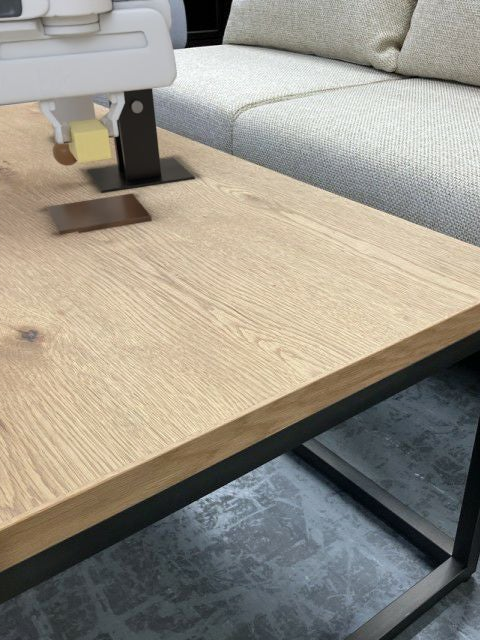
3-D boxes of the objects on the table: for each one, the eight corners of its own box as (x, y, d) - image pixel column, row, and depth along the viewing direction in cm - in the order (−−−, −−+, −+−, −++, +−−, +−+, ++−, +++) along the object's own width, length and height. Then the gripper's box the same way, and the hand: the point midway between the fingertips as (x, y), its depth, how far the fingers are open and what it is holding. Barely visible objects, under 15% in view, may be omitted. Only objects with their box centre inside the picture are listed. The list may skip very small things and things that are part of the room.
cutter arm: (67, 174, 85) (49, 152, 83) (62, 166, 88) (44, 146, 86) (151, 108, 86) (135, 86, 83) (144, 103, 88) (128, 81, 86)
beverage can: (49, 144, 106) (32, 58, 99) (87, 136, 110) (74, 53, 103) (67, 153, 102) (52, 65, 95) (107, 145, 105) (94, 59, 99)
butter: (78, 163, 73) (73, 133, 71) (69, 150, 76) (64, 122, 75) (112, 158, 74) (107, 129, 72) (101, 146, 78) (97, 118, 76)
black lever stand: (102, 200, 86) (86, 99, 79) (87, 178, 93) (71, 84, 86) (195, 185, 90) (188, 88, 83) (174, 166, 97) (165, 75, 90)
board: (61, 244, 75) (58, 230, 74) (49, 219, 81) (46, 206, 80) (152, 228, 78) (150, 215, 77) (133, 205, 84) (132, 193, 83)
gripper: (159, -18, 72) (172, 120, 80) (-53, -6, 65) (-15, 144, 73) (178, -13, 68) (190, 134, 75) (-48, 1, 61) (-9, 160, 68)
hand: (87, 139), depth 74 cm, fingers closed on butter, 3 cm apart
